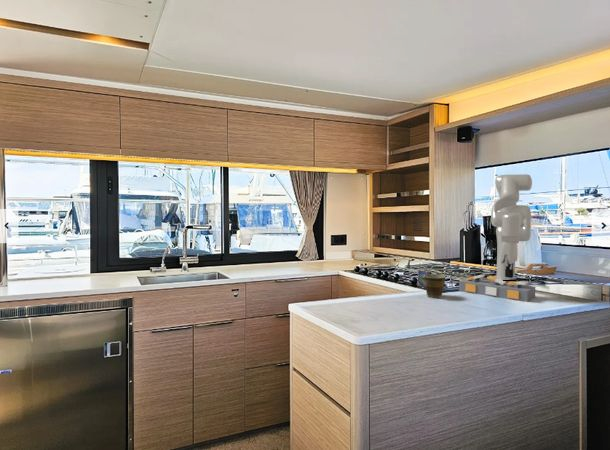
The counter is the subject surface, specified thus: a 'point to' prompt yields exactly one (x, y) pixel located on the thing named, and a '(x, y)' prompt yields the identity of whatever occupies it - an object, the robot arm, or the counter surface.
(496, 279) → the switch
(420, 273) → the flask
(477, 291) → the switch box
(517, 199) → the robot arm
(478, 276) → the switch
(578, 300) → the counter surface
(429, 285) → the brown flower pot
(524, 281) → the switch
